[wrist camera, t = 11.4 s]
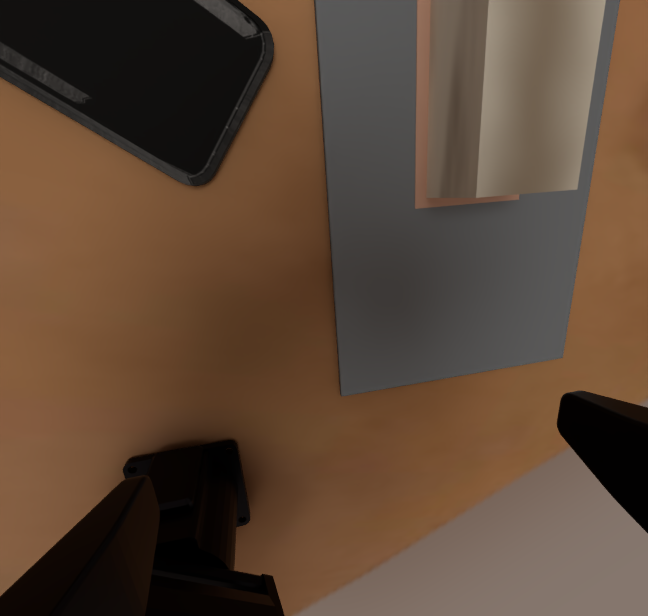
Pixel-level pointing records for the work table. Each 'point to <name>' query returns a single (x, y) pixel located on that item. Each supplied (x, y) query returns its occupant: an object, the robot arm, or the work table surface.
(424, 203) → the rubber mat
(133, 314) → the work table surface
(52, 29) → the phone
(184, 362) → the work table surface
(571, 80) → the ash block
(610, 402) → the robot arm
